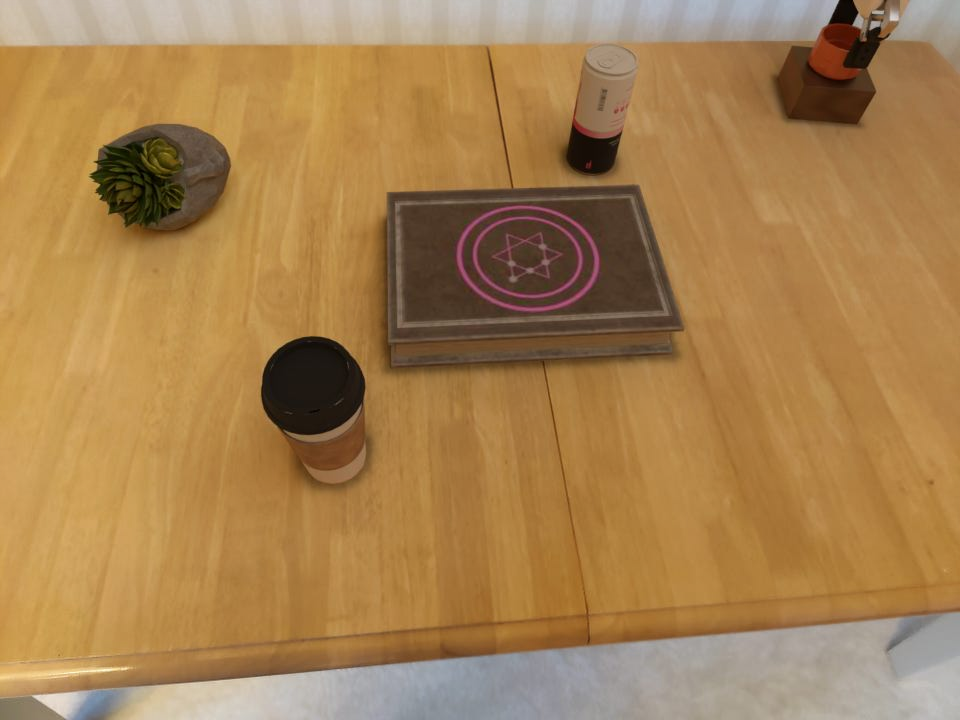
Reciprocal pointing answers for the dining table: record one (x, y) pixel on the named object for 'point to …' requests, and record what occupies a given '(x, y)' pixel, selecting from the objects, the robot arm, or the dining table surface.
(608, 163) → the beverage can
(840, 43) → the bowl
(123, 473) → the dining table surface
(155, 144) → the potted plant
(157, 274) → the dining table surface
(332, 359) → the coffee cup
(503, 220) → the book
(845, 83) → the stand
